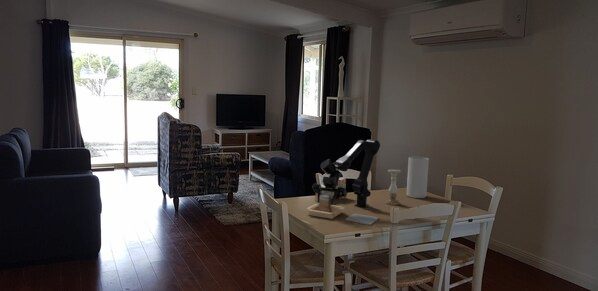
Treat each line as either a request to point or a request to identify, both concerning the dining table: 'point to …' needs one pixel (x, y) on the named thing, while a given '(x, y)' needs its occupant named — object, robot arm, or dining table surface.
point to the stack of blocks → (340, 184)
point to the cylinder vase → (417, 177)
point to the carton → (315, 212)
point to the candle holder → (393, 188)
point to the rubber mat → (362, 219)
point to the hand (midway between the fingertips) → (324, 203)
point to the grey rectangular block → (325, 203)
